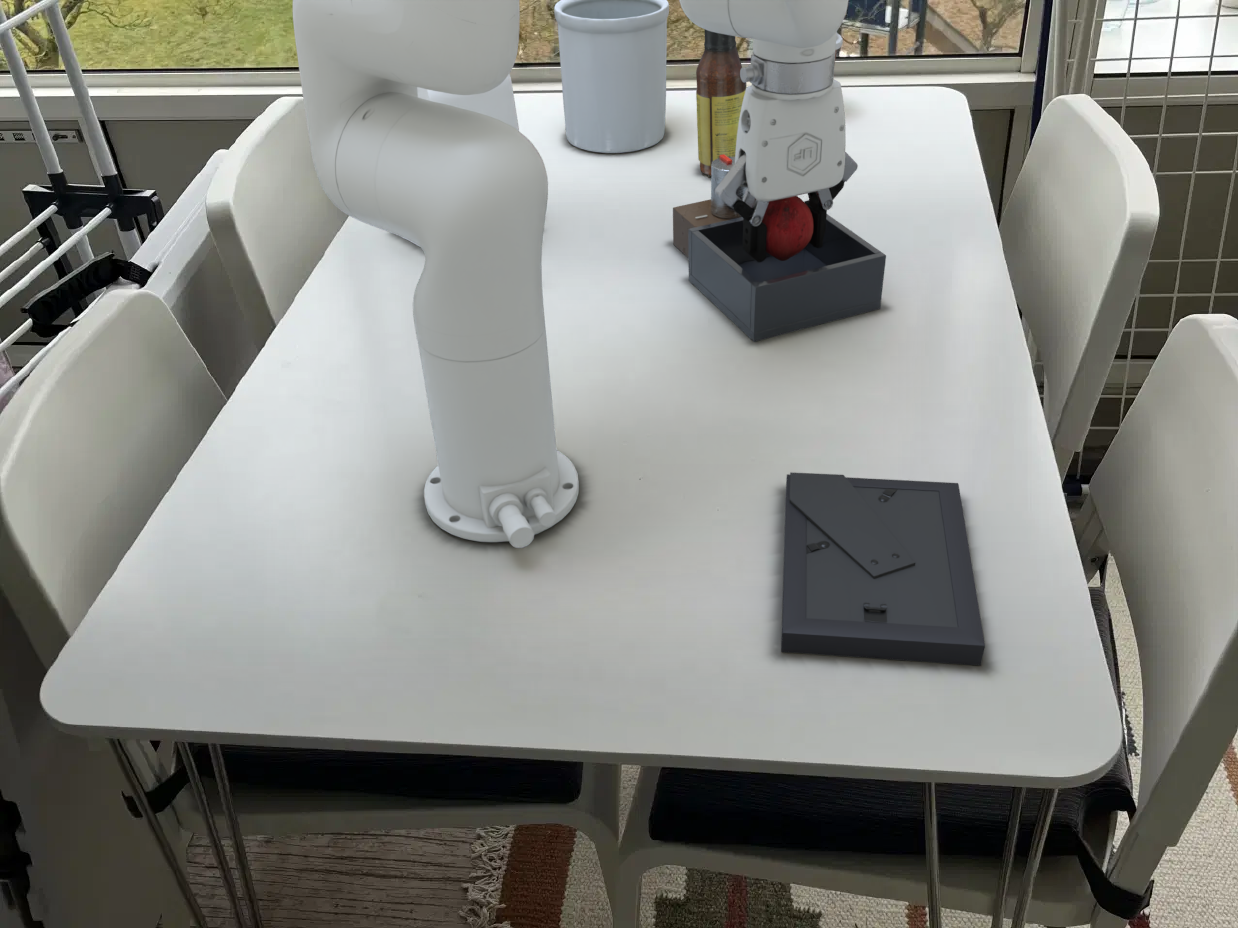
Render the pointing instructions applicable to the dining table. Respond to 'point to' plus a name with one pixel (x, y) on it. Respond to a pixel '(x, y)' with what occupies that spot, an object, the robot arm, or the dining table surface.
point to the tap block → (691, 221)
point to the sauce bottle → (718, 98)
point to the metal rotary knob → (717, 175)
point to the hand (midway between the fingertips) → (783, 248)
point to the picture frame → (878, 571)
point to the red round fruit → (787, 227)
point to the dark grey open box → (785, 279)
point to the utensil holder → (613, 72)
